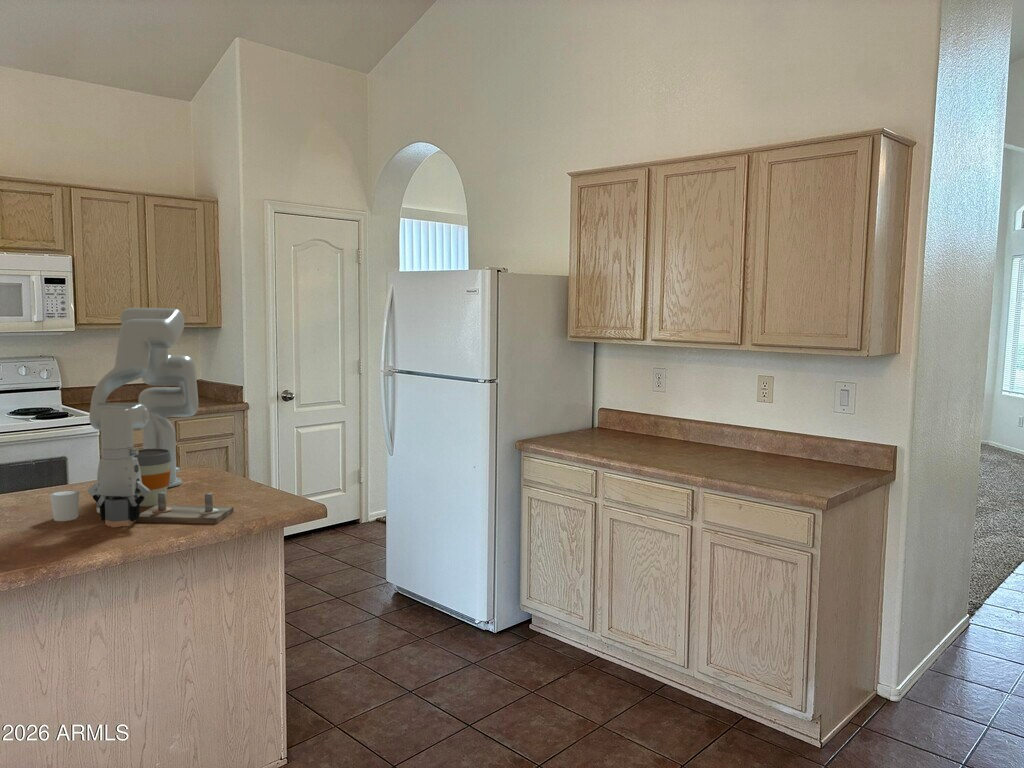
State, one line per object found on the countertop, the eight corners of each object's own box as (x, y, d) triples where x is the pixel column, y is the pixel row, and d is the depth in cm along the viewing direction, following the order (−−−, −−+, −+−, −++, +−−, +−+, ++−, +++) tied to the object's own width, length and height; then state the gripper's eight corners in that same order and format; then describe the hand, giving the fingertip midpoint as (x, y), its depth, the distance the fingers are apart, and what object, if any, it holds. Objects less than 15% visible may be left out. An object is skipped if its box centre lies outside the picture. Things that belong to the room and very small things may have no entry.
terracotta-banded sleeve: (115, 519, 207) (115, 494, 206) (138, 520, 207) (137, 495, 206) (101, 527, 200) (100, 501, 199) (124, 527, 200) (123, 501, 199)
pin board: (156, 510, 217) (155, 487, 217) (233, 511, 217) (233, 489, 217) (135, 521, 205) (134, 498, 205) (216, 523, 205) (216, 500, 205)
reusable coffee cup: (120, 509, 218) (119, 457, 216) (130, 498, 230) (128, 449, 228) (168, 506, 221) (167, 455, 220) (175, 496, 233) (174, 447, 232)
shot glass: (53, 516, 210) (52, 490, 209) (82, 514, 212) (81, 489, 211) (48, 522, 203) (47, 496, 203) (77, 520, 206) (76, 495, 205)
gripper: (157, 451, 205) (159, 516, 207) (93, 450, 205) (95, 515, 207) (143, 457, 198) (145, 524, 200) (76, 455, 198) (79, 522, 200)
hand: (120, 519), depth 203 cm, fingers open, 7 cm apart
